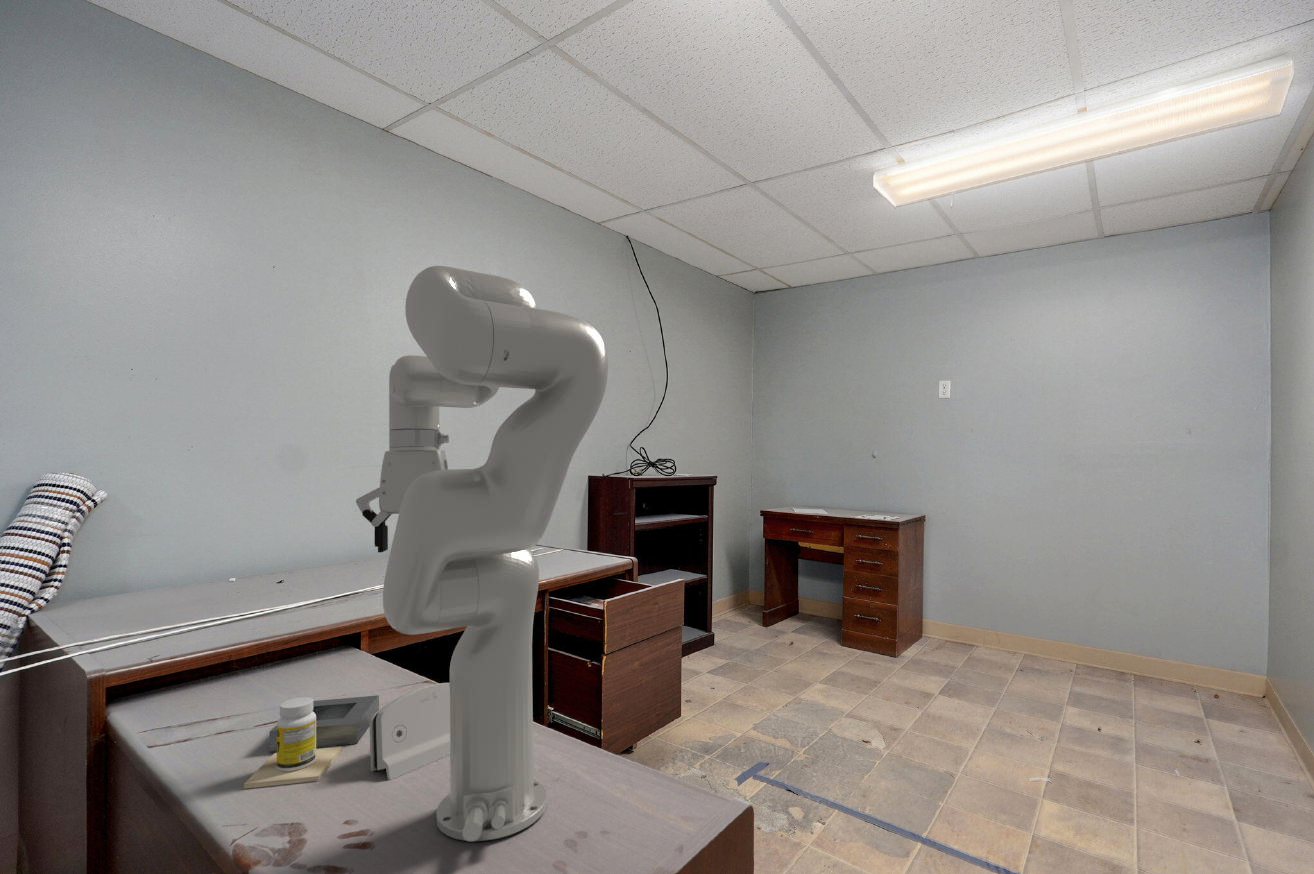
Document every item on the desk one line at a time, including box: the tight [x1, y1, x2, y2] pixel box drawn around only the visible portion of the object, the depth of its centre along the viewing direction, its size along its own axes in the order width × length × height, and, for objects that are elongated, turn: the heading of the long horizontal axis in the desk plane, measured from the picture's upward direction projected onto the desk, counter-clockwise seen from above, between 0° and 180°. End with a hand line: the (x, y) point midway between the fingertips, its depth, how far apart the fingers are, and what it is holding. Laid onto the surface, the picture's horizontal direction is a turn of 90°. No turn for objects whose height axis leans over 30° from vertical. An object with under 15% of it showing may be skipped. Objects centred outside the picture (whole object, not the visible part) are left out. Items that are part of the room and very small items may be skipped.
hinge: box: [369, 682, 450, 781], centre depth 89 cm, size 17×5×10 cm, turn 141°
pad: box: [243, 745, 343, 790], centre depth 84 cm, size 9×9×1 cm
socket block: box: [269, 695, 380, 753], centre depth 96 cm, size 12×12×3 cm
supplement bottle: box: [276, 696, 317, 772], centre depth 84 cm, size 5×5×8 cm
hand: (415, 549), depth 96 cm, fingers open, 9 cm apart
